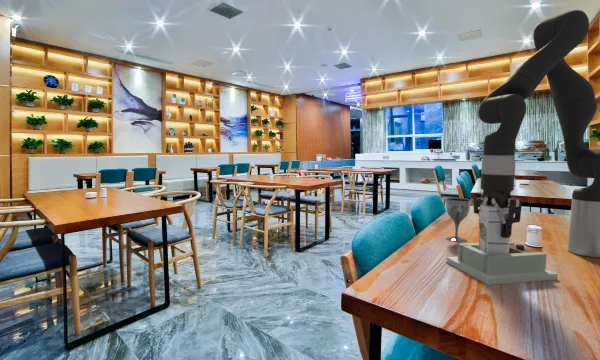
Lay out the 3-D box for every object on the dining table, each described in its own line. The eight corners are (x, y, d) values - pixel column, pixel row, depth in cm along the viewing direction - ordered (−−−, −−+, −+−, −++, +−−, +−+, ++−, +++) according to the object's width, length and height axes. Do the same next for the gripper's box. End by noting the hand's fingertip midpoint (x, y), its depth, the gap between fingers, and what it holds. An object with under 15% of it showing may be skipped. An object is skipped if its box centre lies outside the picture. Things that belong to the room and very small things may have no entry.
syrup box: (509, 262, 82) (512, 208, 81) (484, 261, 84) (487, 207, 82) (500, 255, 88) (503, 204, 87) (477, 254, 89) (479, 203, 88)
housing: (506, 258, 96) (507, 239, 96) (557, 279, 80) (559, 256, 80) (446, 262, 93) (447, 242, 92) (487, 284, 77) (489, 261, 76)
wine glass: (469, 238, 118) (471, 198, 116) (467, 243, 111) (469, 201, 110) (446, 235, 122) (447, 197, 120) (442, 240, 115) (444, 199, 114)
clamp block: (514, 257, 91) (515, 241, 91) (537, 267, 84) (538, 248, 84) (501, 258, 91) (503, 241, 90) (524, 268, 83) (525, 249, 83)
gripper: (534, 174, 77) (529, 240, 79) (489, 170, 91) (486, 226, 93) (507, 174, 76) (503, 242, 78) (466, 171, 90) (463, 228, 92)
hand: (494, 233), depth 85 cm, fingers closed on syrup box, 7 cm apart
